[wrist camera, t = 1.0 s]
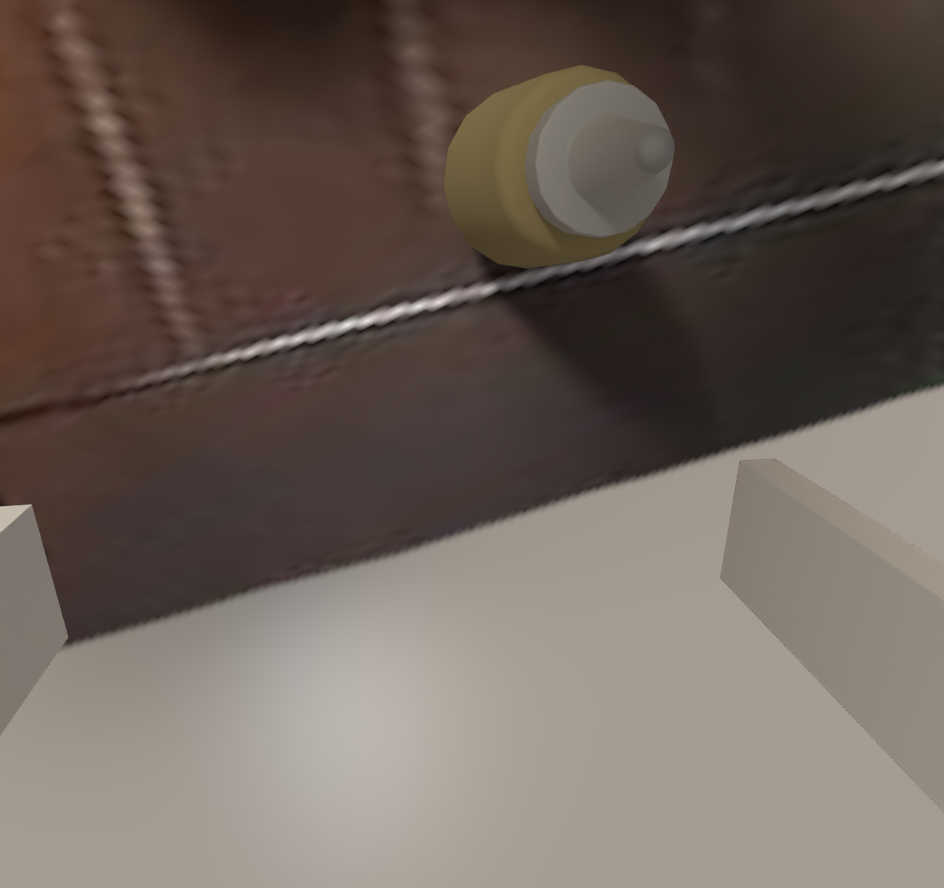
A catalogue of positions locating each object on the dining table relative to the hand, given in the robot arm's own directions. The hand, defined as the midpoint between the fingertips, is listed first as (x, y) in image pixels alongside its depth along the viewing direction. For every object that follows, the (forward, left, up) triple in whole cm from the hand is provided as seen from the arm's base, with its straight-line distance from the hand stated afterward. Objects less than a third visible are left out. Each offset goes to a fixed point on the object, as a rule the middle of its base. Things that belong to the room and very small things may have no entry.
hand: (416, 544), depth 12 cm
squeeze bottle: (-5, +9, -25) cm, 27 cm away
